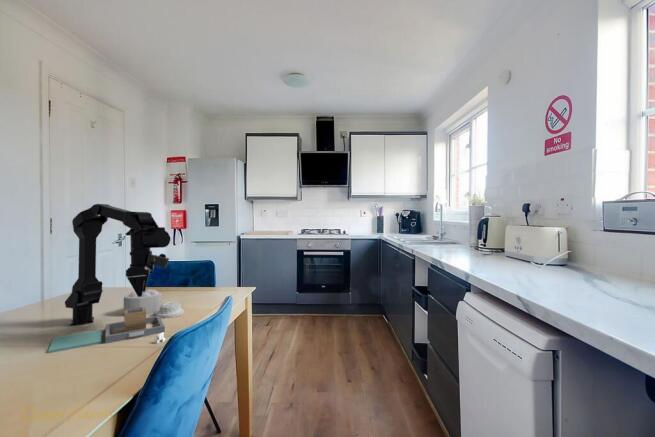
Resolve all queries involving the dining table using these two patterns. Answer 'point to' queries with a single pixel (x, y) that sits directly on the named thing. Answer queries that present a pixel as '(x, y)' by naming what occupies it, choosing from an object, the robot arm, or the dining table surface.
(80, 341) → the service mat
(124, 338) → the grey tapered frame
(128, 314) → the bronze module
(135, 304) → the lumpy-topped squat cylinder
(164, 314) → the mechanical component
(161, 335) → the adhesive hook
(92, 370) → the dining table surface
